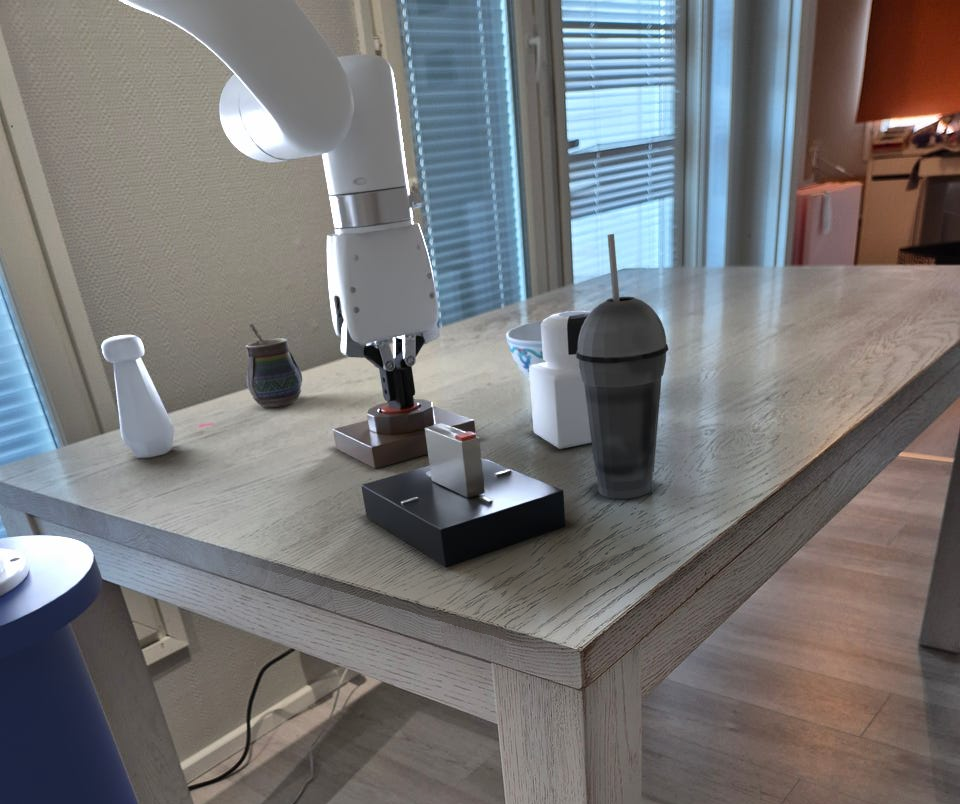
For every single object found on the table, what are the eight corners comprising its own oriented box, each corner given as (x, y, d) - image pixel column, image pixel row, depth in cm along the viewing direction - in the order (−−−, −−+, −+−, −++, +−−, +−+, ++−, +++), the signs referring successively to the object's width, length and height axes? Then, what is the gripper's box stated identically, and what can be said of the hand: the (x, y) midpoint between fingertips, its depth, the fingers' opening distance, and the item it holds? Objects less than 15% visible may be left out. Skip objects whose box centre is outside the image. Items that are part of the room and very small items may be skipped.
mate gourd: (272, 413, 112) (255, 332, 107) (240, 407, 116) (221, 330, 111) (316, 399, 116) (301, 321, 111) (283, 394, 121) (267, 319, 116)
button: (393, 430, 89) (391, 413, 88) (377, 423, 92) (374, 407, 91) (427, 421, 91) (425, 404, 90) (410, 415, 94) (407, 399, 93)
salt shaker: (185, 451, 100) (152, 334, 93) (135, 463, 97) (98, 344, 91) (170, 441, 104) (138, 329, 98) (122, 453, 101) (86, 339, 95)
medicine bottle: (594, 421, 93) (589, 304, 87) (623, 437, 87) (621, 312, 81) (532, 433, 91) (523, 314, 86) (558, 450, 85) (551, 323, 80)
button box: (375, 468, 86) (368, 429, 84) (336, 448, 94) (329, 412, 92) (476, 440, 91) (472, 402, 89) (431, 423, 99) (427, 388, 97)
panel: (445, 567, 64) (440, 527, 62) (366, 517, 74) (360, 482, 73) (565, 526, 68) (563, 488, 67) (474, 485, 79) (471, 451, 77)
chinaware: (552, 376, 113) (548, 314, 110) (657, 382, 105) (657, 315, 101) (487, 406, 103) (480, 340, 99) (598, 415, 95) (595, 343, 91)
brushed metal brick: (431, 480, 72) (423, 424, 70) (447, 475, 72) (441, 420, 70) (467, 498, 67) (461, 438, 65) (485, 493, 68) (479, 433, 66)
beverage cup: (610, 511, 70) (601, 242, 60) (567, 487, 76) (553, 239, 66) (685, 491, 72) (688, 228, 62) (637, 469, 78) (634, 226, 68)
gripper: (422, 203, 88) (445, 385, 97) (284, 223, 82) (322, 416, 91) (459, 202, 82) (479, 395, 91) (313, 223, 76) (350, 429, 85)
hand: (401, 405), depth 91 cm, fingers closed
